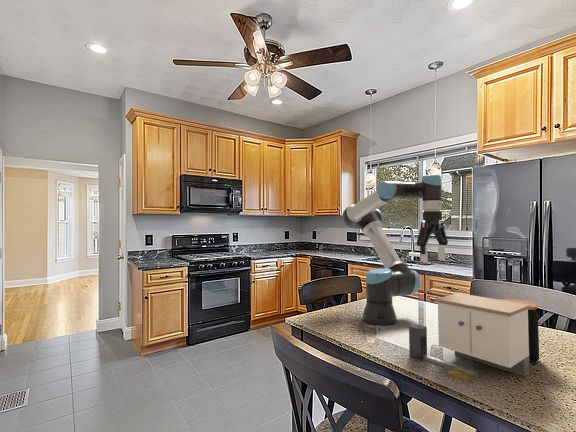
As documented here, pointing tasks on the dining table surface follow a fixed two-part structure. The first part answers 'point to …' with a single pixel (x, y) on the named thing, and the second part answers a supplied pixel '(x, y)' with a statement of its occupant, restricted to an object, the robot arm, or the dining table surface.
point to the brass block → (461, 375)
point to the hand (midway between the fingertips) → (433, 261)
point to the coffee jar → (531, 330)
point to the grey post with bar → (420, 349)
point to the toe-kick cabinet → (485, 330)
